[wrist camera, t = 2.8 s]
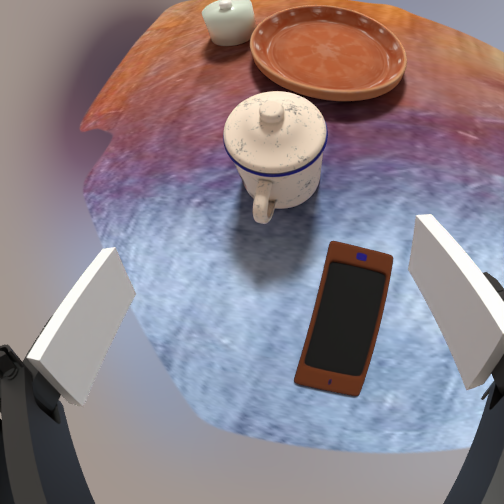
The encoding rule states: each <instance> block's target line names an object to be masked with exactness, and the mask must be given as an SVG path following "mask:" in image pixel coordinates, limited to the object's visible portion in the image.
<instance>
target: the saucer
mask: <svg viewBox="0 0 504 504" xmlns="http://www.w3.org/2000/svg"><path fill="white" fill-rule="evenodd" d="M250 49H251V53H252V56H253V59H254V62H255V64H256V65H257V67H258V68H259V69H260V71H261V72H262V73H263V74H264V75H265V76H267V77H268V78H269V79H271V80H272V81H273V82H275V83H277V84H278V85H280V86H282V87H284V88H286V89H289V90H291V91H293V92H296V93H299V94H302V95H305V96H309V97H314V98H318V99H324V100H332V101H358V100H366V99H371V98H375V97H378V96H380V95H383V94H385V93H387V92H389V91H390V90H392V89H393V88H394V87H396V86H397V84H398V83H399V82H400V80H401V79H402V77H403V74H404V72H405V69H406V65H407V57H406V53H405V50H404V47H403V46H402V44H401V42H400V41H399V39H398V38H397V37H396V36H395V35H394V34H393V33H392V32H391V31H390V30H389V29H388V28H386V27H385V26H384V25H382V24H381V23H379V22H377V21H376V20H374V19H372V18H370V17H368V16H366V15H364V14H361V13H358V12H356V11H352V10H349V9H345V8H340V7H334V6H326V5H307V6H299V7H293V8H289V9H286V10H282V11H280V12H277V13H275V14H273V15H271V16H269V17H267V18H266V19H265V20H263V21H262V22H261V23H260V24H259V25H258V26H257V27H256V28H255V30H254V31H253V33H252V35H251V39H250Z"/></svg>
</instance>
